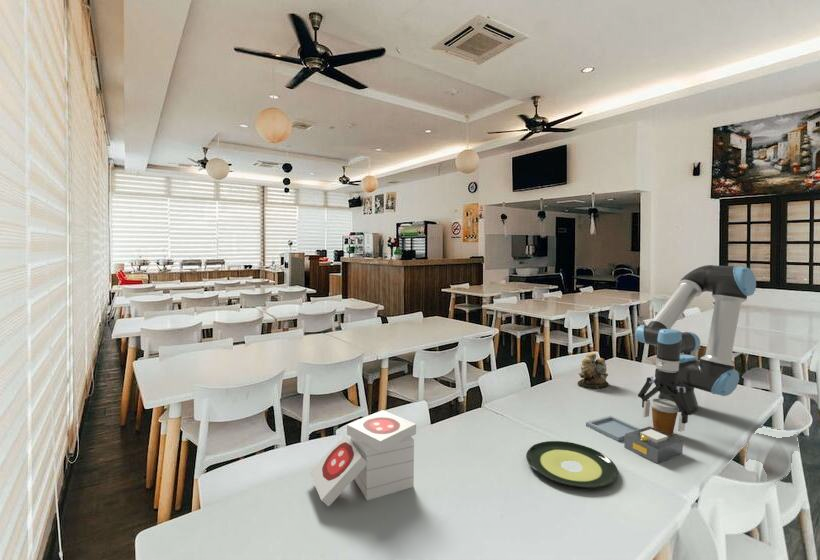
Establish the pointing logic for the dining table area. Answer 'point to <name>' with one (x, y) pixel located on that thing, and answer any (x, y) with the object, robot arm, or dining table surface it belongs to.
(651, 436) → the button
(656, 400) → the disposable coffee cup
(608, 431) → the tray
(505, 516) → the dining table surface
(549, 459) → the plate
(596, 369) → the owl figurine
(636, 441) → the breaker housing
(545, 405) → the dining table surface
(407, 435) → the pizza boxes
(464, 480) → the dining table surface
